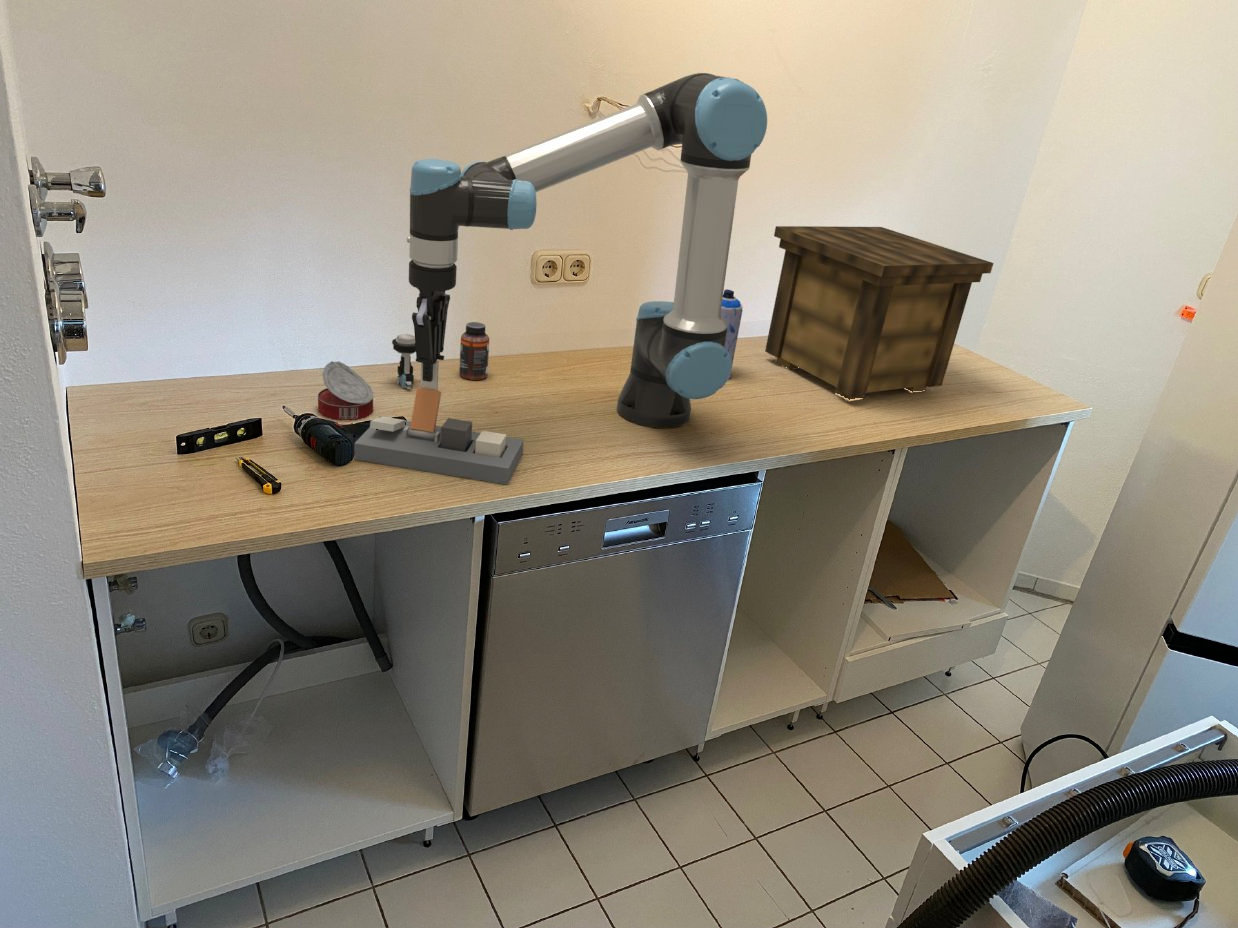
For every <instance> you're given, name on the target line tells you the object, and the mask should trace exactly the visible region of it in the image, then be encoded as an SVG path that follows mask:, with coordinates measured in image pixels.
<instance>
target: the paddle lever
mask: <svg viewBox="0 0 1238 928" xmlns="http://www.w3.org/2000/svg"><path fill="white" fill-rule="evenodd" d="M441 396H442V391H434V390H427V389H421V387H420V388H419V387H416V393H415V396H414V397H415V398H414V405H413V409H412V415H411V427H410V429H409V431H408V435H409V436H416V437H422V438H428V439H434V437H435V427H436V426H437V419H438V413H439V409H440V402H441Z"/></svg>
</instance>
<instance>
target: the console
mask: <svg viewBox="0 0 1238 928" xmlns="http://www.w3.org/2000/svg"><path fill="white" fill-rule="evenodd" d="M380 417H381V416H379V417H378V418H380ZM411 421H412V420H411ZM411 421H410V420H405V422H406V425H405V426H404V427H403V428H401V429H398V430H396V431H394V432H392V431H386V430H380V429H378V430H376V429H374V428H370V427H368V428H367V430H366V431H365V432H364V433H363V434H362V435H361V436H359V438H358V439H357V440H356V441H355V442H354V451H353V452H354V461H362V462H368V463H373V464H379V465H385V466H391V467H396V468H397V467H398V468H402V469H403V468H404V469H407V470H408V469H410V470H415V471H422V472H427V473H432V474H433V473H434V474H439V475H447V476H451V477H458V478H464V479H471V480H474V481H475V480H477V481H481V480H482V481H483V482H489V483H495V484H501V485H508V484H509V482H510V480H511V478H512V477H513V474H514V472H515V470H516V468H517V467H518V465H519V463H520V461H521V459H522V457H523V455H524V454H523V453H524V442H525V440H524V439H521V438H517V437H516V438H514V437H510V436H509V437H508V436H506V445H505V452H504V454H503V456H502V458H500V457H494V456H487V455H481V454H475V447H476V439H477V438H478V436H479V435H480V433H481V432H479V431H473V430H472V437H471V444H470V446H469V447H468V449H467V450H466V452H463V451H457V450H451V449H444V448H440V444H441V427H442V426H443V425H436V427H435V437H434V439H428V438H422V437H416V436H409V435H408V431H409V429H410V427H411Z"/></svg>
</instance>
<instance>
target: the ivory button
mask: <svg viewBox="0 0 1238 928" xmlns="http://www.w3.org/2000/svg"><path fill="white" fill-rule="evenodd" d="M479 433H480V435H479V436H478V438H477V439H476V447H475V454H481V455H487V456H494V457H500V458H502V456H503V454H504V452H505V445H506V437H507V434H506V433H505V434H504V433H498V432H493V431H488V430H487V431H486V430H481V432H479Z"/></svg>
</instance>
